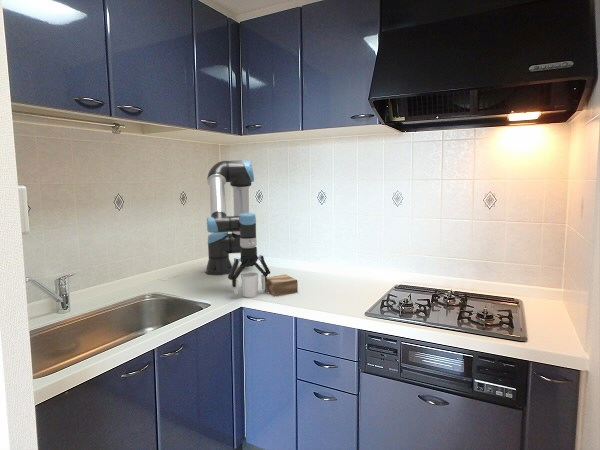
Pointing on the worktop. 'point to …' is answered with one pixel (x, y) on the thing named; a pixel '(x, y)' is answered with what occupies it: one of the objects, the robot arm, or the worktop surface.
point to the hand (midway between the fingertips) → (250, 291)
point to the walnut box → (281, 285)
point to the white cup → (249, 284)
